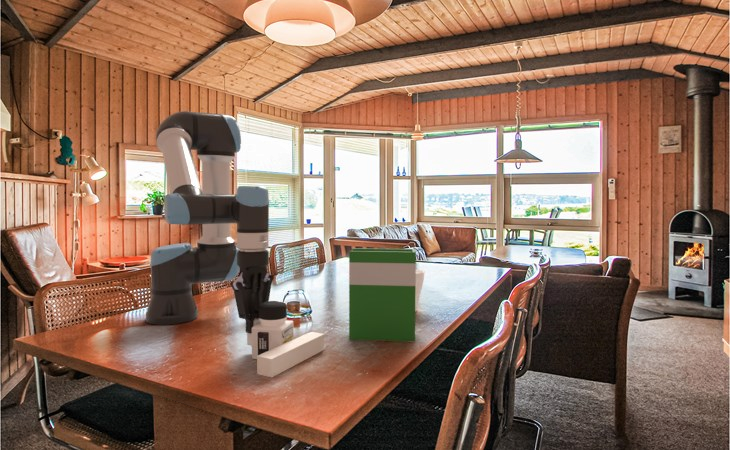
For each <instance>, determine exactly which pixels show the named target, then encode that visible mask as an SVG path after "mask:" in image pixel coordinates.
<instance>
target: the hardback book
mask: <svg viewBox="0 0 730 450" xmlns="http://www.w3.org/2000/svg"><path fill="white" fill-rule="evenodd" d="M351 249H352V250H349V251H348V254H349V255H348V259H349V260H348V261H349V262H348V264H349V265H348V266H349V267H348V268H349V269H348V270H349V271H348V277H349V278H348V280H349V281H348V283H349V284H348V285H349V286H348V289H349V290H348V297H349V299H348V300H349V301H348V303H349V305H348V312H349V313H348V314H349V318H348V319H349V322H348V323H349V324H348V325H349V327H348V337H349V338H348V339H349V340H354V341H375V340H390V341H389V342H405V341H415V342H416V312H415V283H416V268H417V267H416V261H417V260H416V258H417V255H416V253H417V251H416V248H367V247H366V248H361V247H358V248H357V247H355V248H354V247H352V248H351Z"/></svg>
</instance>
